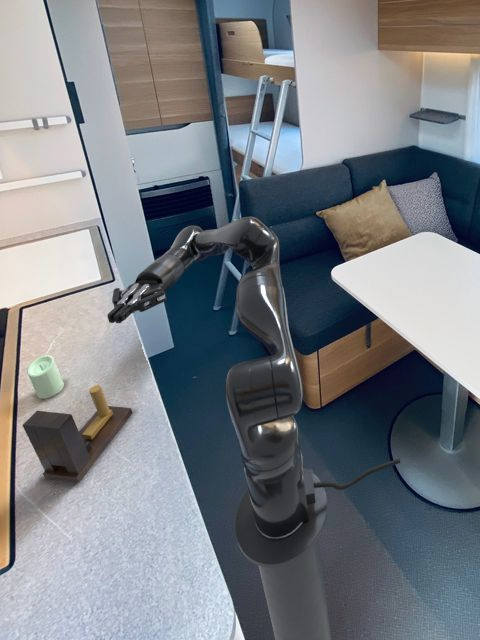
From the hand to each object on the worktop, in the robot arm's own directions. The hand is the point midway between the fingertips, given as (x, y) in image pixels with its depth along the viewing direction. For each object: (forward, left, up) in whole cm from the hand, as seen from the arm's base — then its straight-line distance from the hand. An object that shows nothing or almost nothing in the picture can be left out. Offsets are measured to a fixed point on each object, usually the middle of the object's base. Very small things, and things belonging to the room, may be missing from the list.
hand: (113, 319), depth 88 cm
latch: (+5, +13, -20) cm, 24 cm away
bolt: (+4, +10, -18) cm, 21 cm away
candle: (+19, -5, -20) cm, 28 cm away
